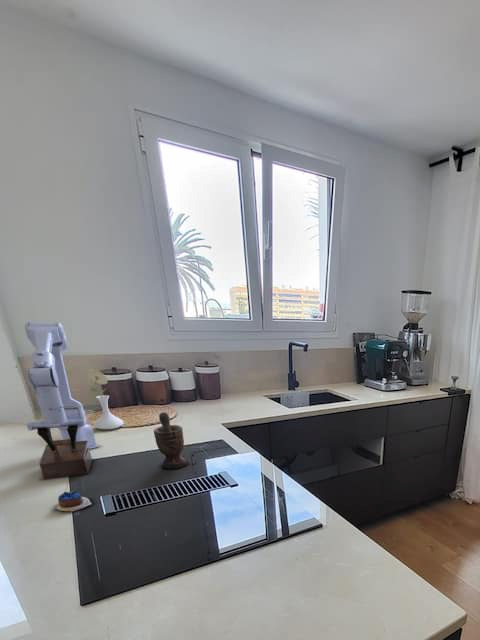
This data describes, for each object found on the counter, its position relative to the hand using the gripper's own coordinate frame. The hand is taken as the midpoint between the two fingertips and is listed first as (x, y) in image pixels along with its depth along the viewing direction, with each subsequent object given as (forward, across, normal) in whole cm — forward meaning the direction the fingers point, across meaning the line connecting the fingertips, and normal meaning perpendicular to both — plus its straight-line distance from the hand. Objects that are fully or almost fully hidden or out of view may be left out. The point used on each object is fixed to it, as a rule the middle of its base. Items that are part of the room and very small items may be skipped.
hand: (64, 449), depth 127 cm
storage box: (+7, 0, -1) cm, 7 cm away
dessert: (+7, +5, -31) cm, 32 cm away
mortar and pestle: (+7, +32, -12) cm, 34 cm away
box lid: (+1, 0, 0) cm, 1 cm away
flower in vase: (+7, +8, +49) cm, 50 cm away
